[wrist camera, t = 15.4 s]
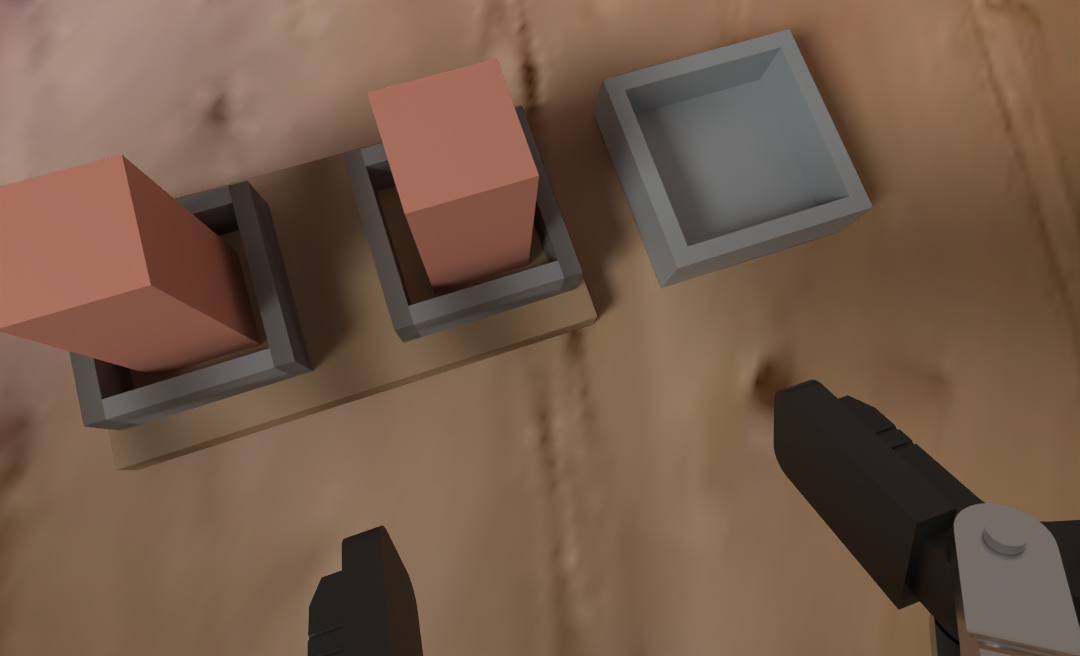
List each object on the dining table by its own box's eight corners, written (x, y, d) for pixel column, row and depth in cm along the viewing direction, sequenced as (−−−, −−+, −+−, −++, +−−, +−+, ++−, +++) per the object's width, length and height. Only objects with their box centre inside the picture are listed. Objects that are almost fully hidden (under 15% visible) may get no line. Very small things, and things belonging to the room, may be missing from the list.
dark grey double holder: (519, 121, 33) (521, 73, 29) (592, 324, 31) (606, 302, 27) (89, 239, 30) (27, 205, 26) (136, 470, 28) (77, 469, 24)
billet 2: (498, 179, 30) (496, 58, 22) (528, 264, 29) (539, 175, 21) (407, 205, 30) (367, 92, 21) (434, 293, 29) (404, 214, 20)
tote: (764, 67, 34) (789, 28, 31) (839, 231, 32) (873, 207, 29) (593, 114, 33) (603, 79, 30) (661, 287, 31) (677, 268, 28)
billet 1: (237, 252, 29) (121, 154, 20) (261, 344, 28) (150, 285, 19) (136, 281, 28) (-29, 193, 20) (157, 376, 27) (-6, 329, 19)
